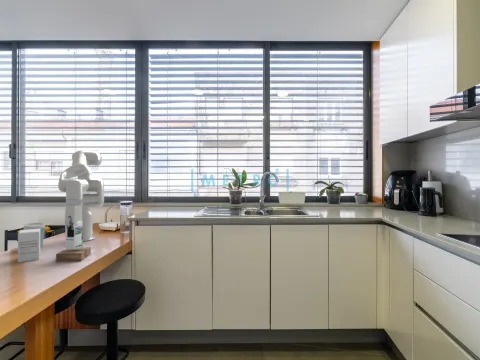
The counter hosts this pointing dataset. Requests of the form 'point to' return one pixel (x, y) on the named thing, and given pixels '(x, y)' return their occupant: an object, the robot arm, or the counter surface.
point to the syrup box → (75, 236)
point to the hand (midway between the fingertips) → (74, 235)
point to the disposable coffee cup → (36, 226)
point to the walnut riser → (73, 254)
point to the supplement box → (28, 245)
